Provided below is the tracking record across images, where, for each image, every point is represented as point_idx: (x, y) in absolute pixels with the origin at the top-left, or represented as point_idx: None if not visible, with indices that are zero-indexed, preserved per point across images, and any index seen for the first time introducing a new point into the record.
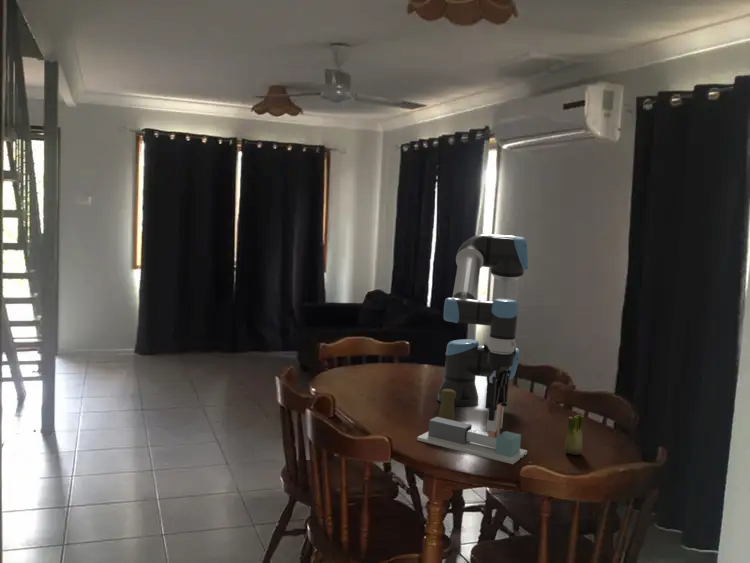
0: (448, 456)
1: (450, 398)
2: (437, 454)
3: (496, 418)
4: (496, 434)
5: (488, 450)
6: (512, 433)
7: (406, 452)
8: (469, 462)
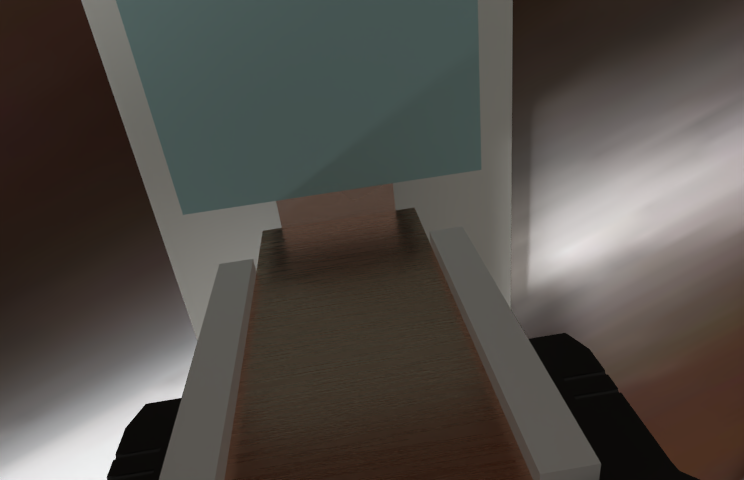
0: (653, 318)
1: None
2: (658, 372)
3: (519, 337)
4: (357, 228)
5: (409, 192)
6: (187, 98)
7: (724, 467)
8: (688, 171)
